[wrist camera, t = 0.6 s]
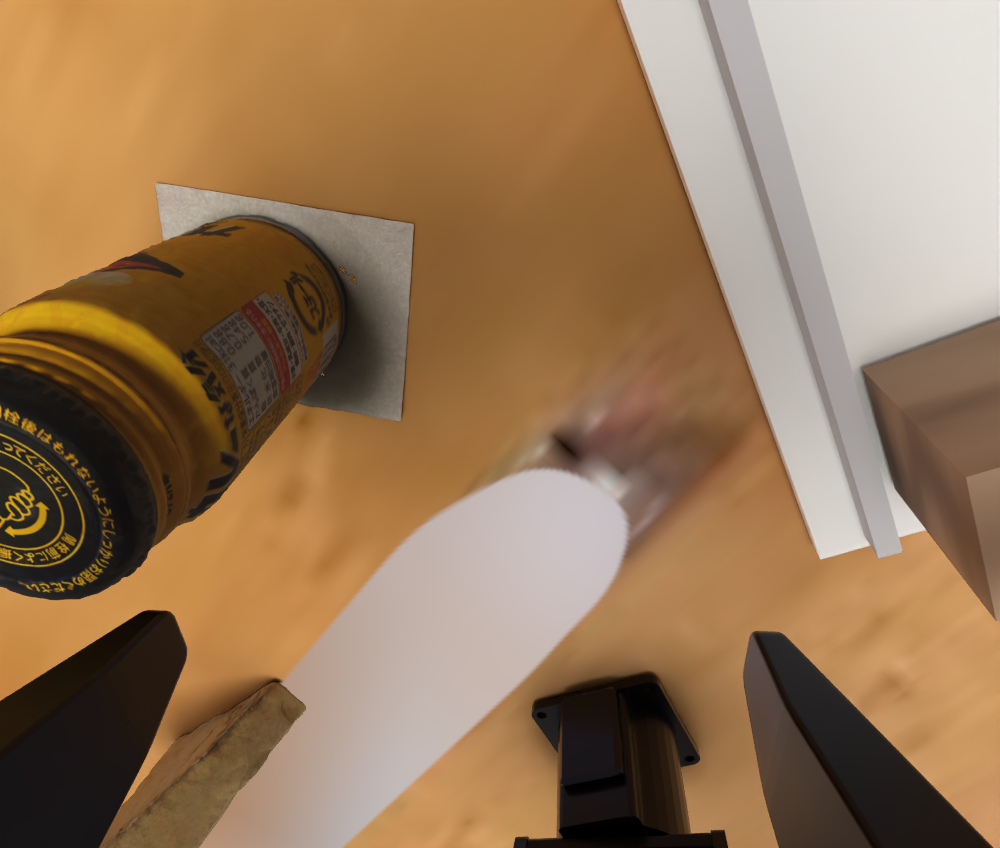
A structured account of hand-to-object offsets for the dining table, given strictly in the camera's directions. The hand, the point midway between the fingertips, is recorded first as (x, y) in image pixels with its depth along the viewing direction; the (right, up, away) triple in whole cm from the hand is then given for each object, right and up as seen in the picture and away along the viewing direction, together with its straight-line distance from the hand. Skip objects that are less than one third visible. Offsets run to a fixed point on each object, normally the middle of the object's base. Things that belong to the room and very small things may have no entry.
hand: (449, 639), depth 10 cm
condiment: (-7, +7, +13) cm, 16 cm away
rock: (-13, -14, +25) cm, 32 cm away
